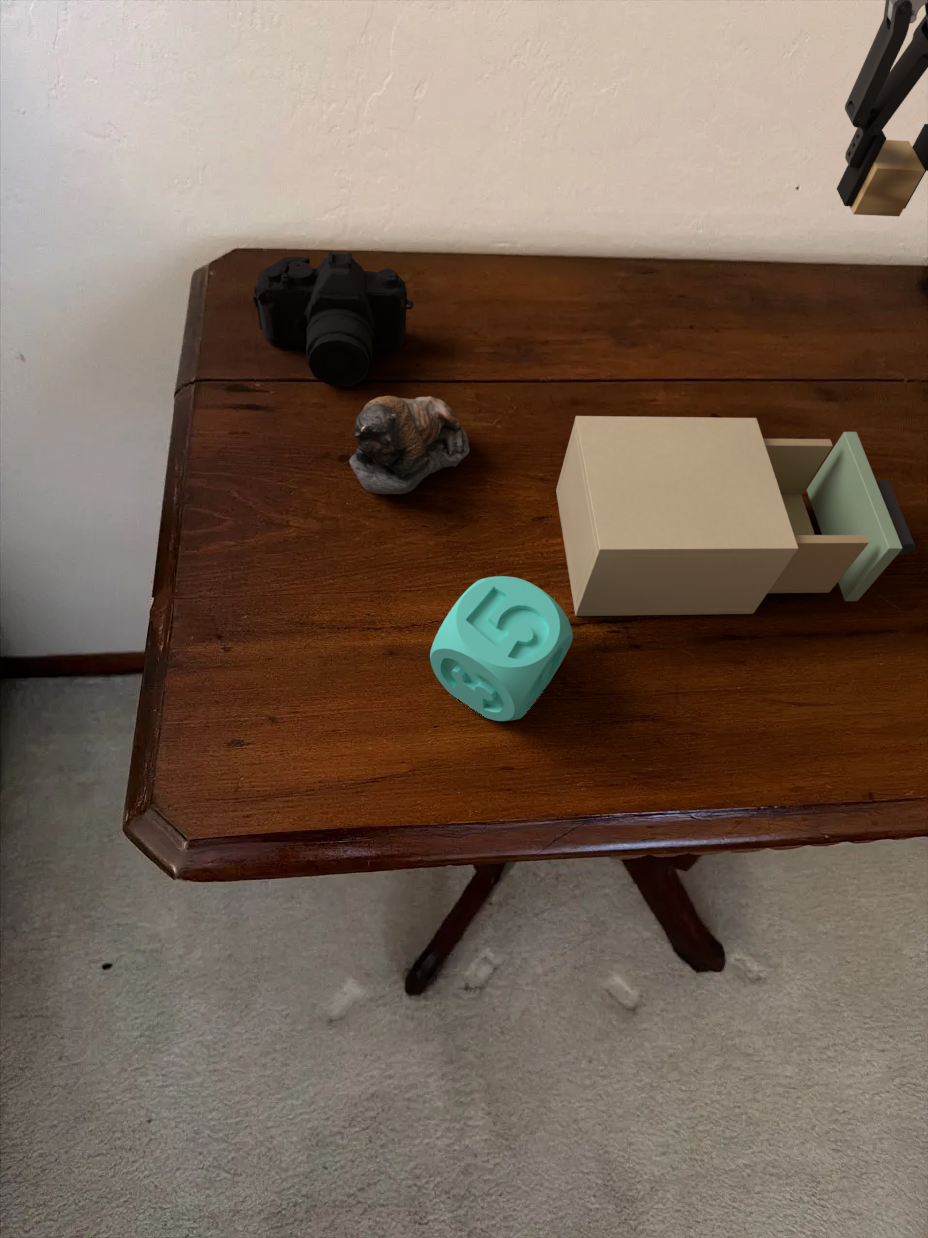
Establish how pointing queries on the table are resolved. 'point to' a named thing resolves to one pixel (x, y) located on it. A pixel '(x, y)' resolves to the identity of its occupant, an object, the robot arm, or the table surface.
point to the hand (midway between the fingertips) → (870, 197)
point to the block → (889, 181)
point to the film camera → (332, 313)
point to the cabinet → (671, 516)
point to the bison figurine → (405, 442)
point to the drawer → (836, 516)
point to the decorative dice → (501, 646)
